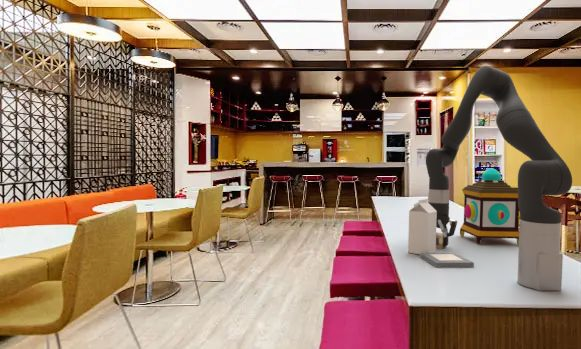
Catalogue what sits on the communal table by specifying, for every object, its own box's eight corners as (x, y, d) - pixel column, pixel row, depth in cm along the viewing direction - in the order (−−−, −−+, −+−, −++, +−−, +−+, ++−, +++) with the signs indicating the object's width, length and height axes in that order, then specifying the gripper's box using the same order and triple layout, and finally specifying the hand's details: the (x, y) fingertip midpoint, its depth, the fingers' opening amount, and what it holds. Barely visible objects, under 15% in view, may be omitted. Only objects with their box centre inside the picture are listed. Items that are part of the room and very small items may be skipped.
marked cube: (446, 246, 146) (446, 233, 145) (441, 249, 142) (441, 235, 142) (433, 244, 149) (433, 231, 149) (428, 246, 145) (428, 233, 145)
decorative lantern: (475, 245, 148) (478, 168, 147) (455, 235, 168) (457, 167, 167) (527, 246, 147) (530, 169, 146) (501, 236, 167) (503, 167, 166)
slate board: (473, 267, 118) (474, 262, 118) (436, 267, 117) (436, 262, 117) (454, 257, 130) (454, 252, 130) (420, 257, 129) (420, 252, 129)
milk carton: (435, 252, 136) (437, 199, 135) (427, 256, 130) (428, 201, 130) (416, 249, 140) (417, 198, 140) (407, 252, 135) (409, 199, 134)
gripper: (461, 202, 143) (460, 247, 144) (423, 199, 152) (422, 241, 153) (454, 203, 137) (453, 250, 138) (416, 200, 147) (415, 244, 147)
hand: (437, 245), depth 145 cm, fingers closed on marked cube, 5 cm apart
